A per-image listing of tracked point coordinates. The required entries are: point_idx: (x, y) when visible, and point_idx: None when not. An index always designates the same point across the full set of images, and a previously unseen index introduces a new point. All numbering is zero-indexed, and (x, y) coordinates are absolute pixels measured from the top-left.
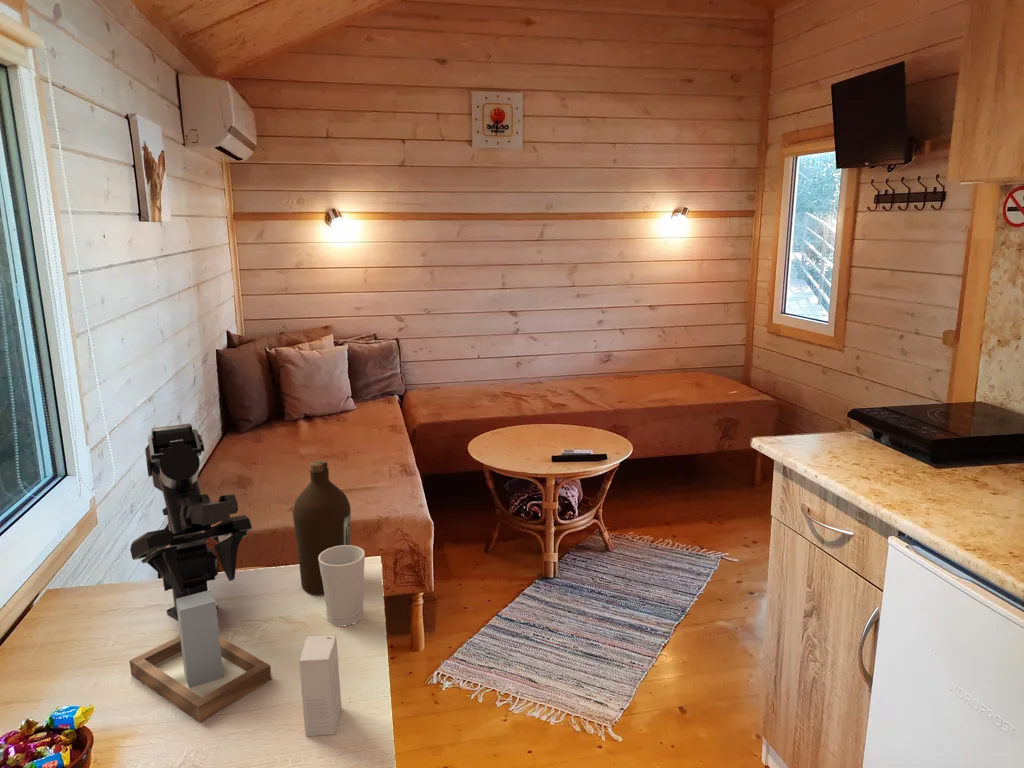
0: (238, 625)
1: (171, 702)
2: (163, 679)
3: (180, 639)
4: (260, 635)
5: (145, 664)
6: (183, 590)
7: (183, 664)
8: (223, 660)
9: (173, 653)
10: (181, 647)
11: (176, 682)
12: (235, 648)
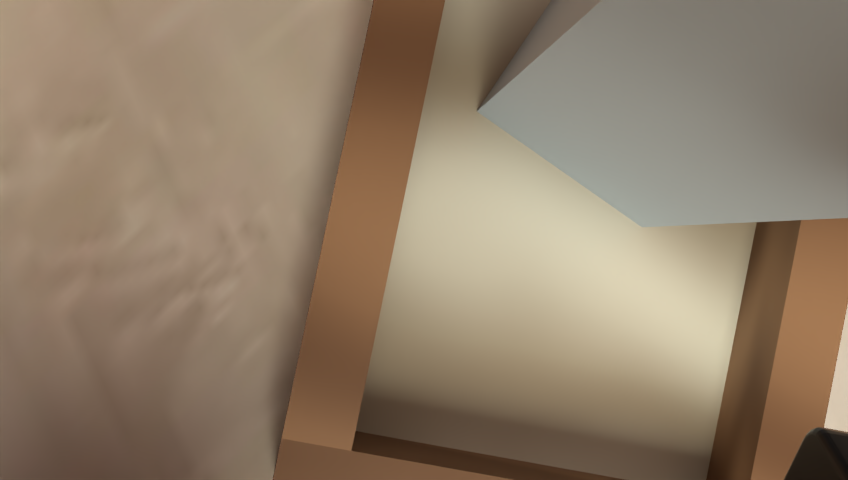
0: (26, 371)
1: None
2: None
3: (783, 218)
4: (64, 125)
5: (781, 454)
6: (825, 438)
7: (673, 224)
8: (435, 109)
9: (525, 466)
10: (742, 219)
11: None
12: (392, 19)
